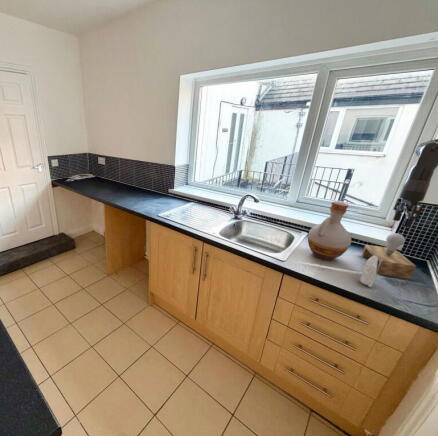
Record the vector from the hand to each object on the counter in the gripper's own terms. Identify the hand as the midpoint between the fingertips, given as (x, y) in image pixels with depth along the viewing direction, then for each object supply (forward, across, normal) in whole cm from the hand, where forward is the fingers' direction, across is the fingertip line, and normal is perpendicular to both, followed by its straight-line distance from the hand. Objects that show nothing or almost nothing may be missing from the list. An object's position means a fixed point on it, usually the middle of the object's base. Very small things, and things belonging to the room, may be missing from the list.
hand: (401, 223), depth 112 cm
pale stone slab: (+23, -17, +13) cm, 31 cm away
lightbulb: (+16, 0, 0) cm, 16 cm away
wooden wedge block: (+23, 0, 0) cm, 23 cm away
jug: (+23, 0, +26) cm, 35 cm away
